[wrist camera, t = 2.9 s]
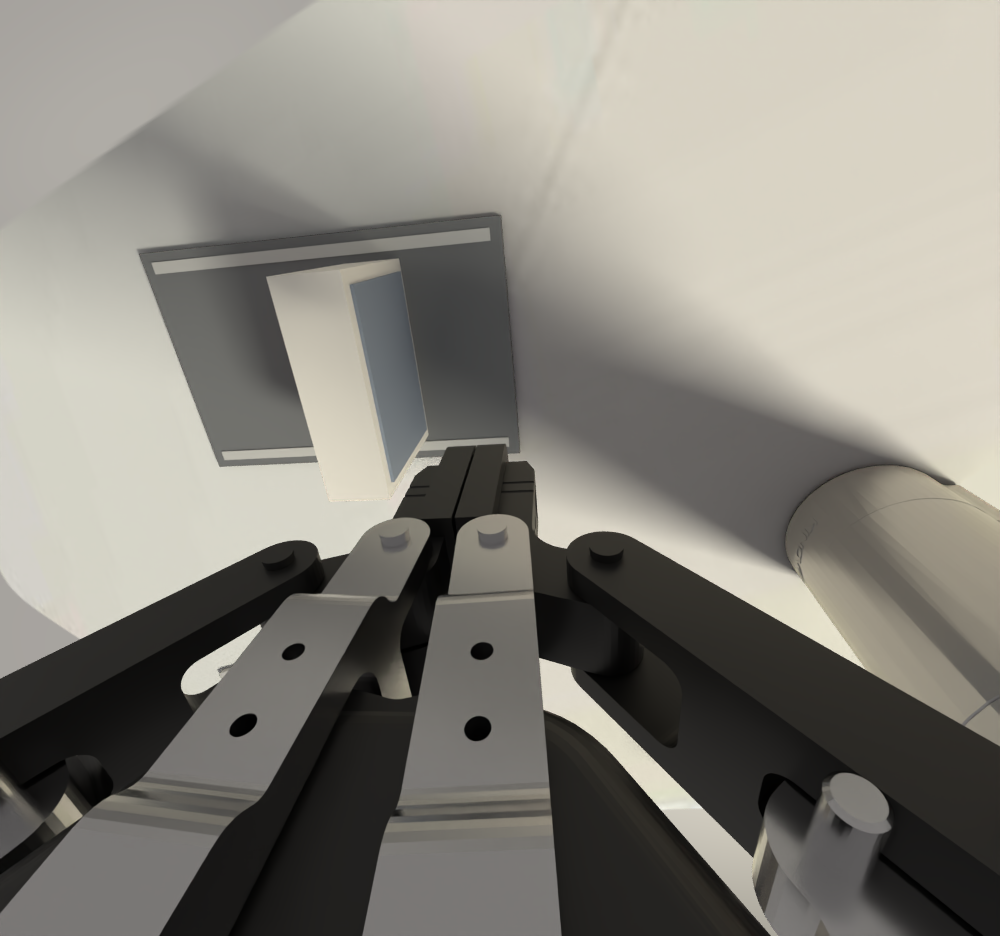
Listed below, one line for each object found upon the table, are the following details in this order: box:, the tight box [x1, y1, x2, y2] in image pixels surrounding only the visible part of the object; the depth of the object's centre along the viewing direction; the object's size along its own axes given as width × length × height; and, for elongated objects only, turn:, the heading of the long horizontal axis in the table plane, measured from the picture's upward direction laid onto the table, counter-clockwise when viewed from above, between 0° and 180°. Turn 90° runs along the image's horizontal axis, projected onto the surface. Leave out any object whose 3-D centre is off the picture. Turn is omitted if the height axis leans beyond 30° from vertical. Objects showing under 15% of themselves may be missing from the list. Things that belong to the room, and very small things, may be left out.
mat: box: [139, 215, 520, 467], centre depth 28 cm, size 20×13×1 cm, turn 95°
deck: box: [266, 258, 429, 502], centre depth 24 cm, size 3×10×8 cm, turn 6°
